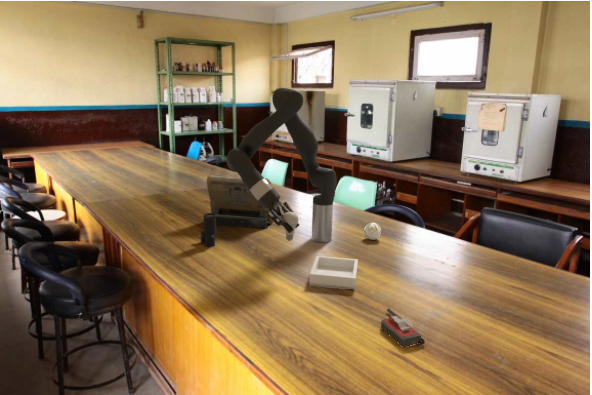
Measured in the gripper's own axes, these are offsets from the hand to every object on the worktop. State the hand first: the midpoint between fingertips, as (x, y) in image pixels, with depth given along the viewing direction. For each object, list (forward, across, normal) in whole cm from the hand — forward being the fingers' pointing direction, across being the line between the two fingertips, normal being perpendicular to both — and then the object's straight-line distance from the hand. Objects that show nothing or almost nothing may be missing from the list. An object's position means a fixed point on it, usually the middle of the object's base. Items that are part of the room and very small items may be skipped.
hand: (294, 229), depth 165 cm
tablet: (-20, +48, +47) cm, 70 cm away
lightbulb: (+2, 0, +5) cm, 5 cm away
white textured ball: (+26, +52, 0) cm, 59 cm away
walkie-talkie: (+42, -25, -17) cm, 52 cm away
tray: (+23, +3, +2) cm, 23 cm away
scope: (-19, +15, +45) cm, 51 cm away
